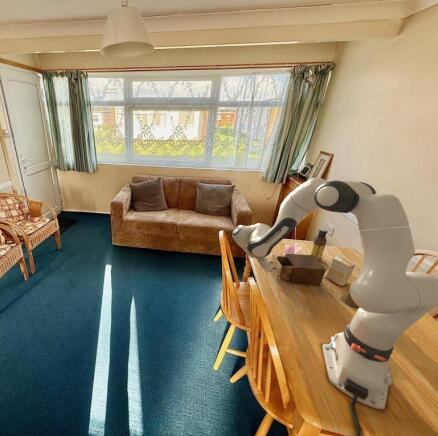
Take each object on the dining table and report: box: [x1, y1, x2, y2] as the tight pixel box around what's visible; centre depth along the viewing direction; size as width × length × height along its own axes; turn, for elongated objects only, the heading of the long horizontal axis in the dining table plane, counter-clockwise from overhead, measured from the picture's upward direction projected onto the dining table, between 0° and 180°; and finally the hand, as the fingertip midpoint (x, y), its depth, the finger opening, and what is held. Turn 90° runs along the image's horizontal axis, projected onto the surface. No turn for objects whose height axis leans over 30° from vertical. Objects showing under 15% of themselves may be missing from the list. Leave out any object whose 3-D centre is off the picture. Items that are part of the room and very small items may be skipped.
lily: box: [281, 242, 303, 256], centre depth 140 cm, size 12×12×10 cm
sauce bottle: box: [308, 227, 328, 261], centre depth 137 cm, size 6×6×20 cm
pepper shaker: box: [342, 289, 359, 308], centre depth 106 cm, size 6×6×11 cm
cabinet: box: [284, 252, 327, 287], centre depth 123 cm, size 15×13×11 cm
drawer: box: [269, 254, 294, 281], centre depth 124 cm, size 18×11×9 cm, turn 82°
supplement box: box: [325, 255, 357, 287], centre depth 119 cm, size 8×5×13 cm, turn 22°
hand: (269, 265), depth 125 cm, fingers closed on drawer, 6 cm apart
